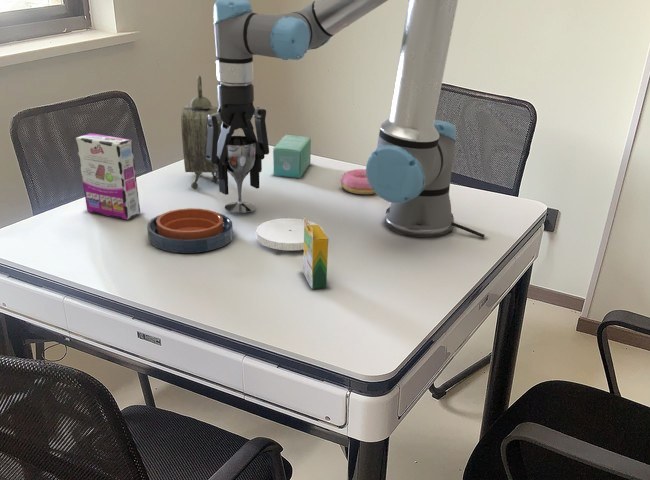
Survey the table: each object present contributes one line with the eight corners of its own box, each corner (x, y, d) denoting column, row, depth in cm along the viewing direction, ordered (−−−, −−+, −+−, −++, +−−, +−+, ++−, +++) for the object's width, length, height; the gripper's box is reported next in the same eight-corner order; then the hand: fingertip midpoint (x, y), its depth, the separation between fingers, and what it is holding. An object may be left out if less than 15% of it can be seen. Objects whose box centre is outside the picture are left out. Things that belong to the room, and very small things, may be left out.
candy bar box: (142, 213, 162) (133, 139, 153) (127, 220, 158) (118, 144, 149) (100, 205, 165) (89, 131, 156) (86, 211, 161) (74, 136, 152)
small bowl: (236, 241, 151) (235, 223, 149) (177, 255, 144) (176, 236, 142) (203, 221, 160) (202, 204, 158) (147, 234, 152) (144, 216, 150)
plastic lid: (244, 247, 149) (244, 236, 147) (274, 225, 160) (274, 214, 158) (307, 260, 145) (307, 248, 144) (333, 236, 156) (333, 225, 155)
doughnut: (331, 189, 182) (332, 173, 180) (356, 179, 190) (357, 163, 187) (367, 199, 177) (368, 182, 175) (392, 188, 185) (393, 172, 182)
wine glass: (251, 215, 162) (249, 147, 154) (217, 211, 163) (213, 143, 155) (262, 203, 168) (260, 137, 160) (229, 199, 170) (226, 134, 162)
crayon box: (327, 288, 135) (329, 229, 128) (311, 289, 134) (312, 230, 128) (317, 272, 140) (319, 214, 134) (302, 273, 140) (303, 215, 133)
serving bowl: (248, 242, 151) (248, 228, 149) (173, 261, 142) (172, 247, 140) (206, 217, 162) (205, 204, 160) (134, 233, 152) (132, 219, 151)
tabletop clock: (191, 172, 188) (183, 69, 174) (226, 173, 189) (221, 71, 175) (186, 191, 176) (177, 82, 162) (224, 191, 177) (218, 83, 163)
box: (272, 176, 189) (272, 147, 185) (284, 161, 200) (284, 134, 196) (300, 179, 188) (300, 150, 184) (310, 164, 199) (311, 136, 195)
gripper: (266, 75, 159) (267, 178, 172) (182, 83, 148) (191, 192, 160) (285, 81, 154) (286, 186, 167) (201, 90, 143) (208, 202, 156)
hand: (239, 189), depth 164 cm, fingers closed on wine glass, 7 cm apart
